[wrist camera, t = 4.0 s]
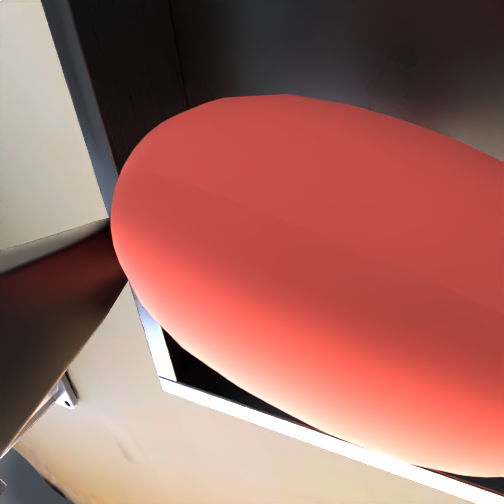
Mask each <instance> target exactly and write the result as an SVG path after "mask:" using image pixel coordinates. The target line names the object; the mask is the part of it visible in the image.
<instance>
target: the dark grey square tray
mask: <svg viewBox="0 0 504 504" xmlns="http://www.w3.org/2000/svg"><path fill="white" fill-rule="evenodd" d="M41 3H42V6H43V9H44V13H45V16H46V19H47V22H48V25H49V28H50V32H51V35H52V38H53V41H54V44H55V48H56V51H57V54H58V57H59V60H60V64H61V67H62V70H63V73H64V76H65V79H66V83H67V86H68V89H69V92H70V95H71V99H72V102H73V105H74V108H75V111H76V115H77V118H78V121H79V124H80V127H81V130H82V134H83V137H84V140H85V143H86V146H87V150H88V153H89V156H90V159H91V162H92V166H93V169H94V172H95V175H96V178H97V181H98V185H99V188H100V191H101V194H102V197H103V201H104V204H105V207H106V210H107V213H108V217H109V218H111V205H112V200H113V195H114V190H115V186H116V183H117V180H118V178H119V175H120V173H121V170H122V168H123V166H124V164H125V162H126V161H127V159H128V158H129V156H130V154H131V153H132V151H133V149H134V148H135V147H136V146H137V145H138V144H139V143H140V141H141V140H142V139H143V138H144V137H145V136H146V135H147V134H148V133H149V132H150V131H152V130H153V129H154V128H155V127H157V126H158V125H159V124H161V123H162V122H164V121H166V120H168V119H170V118H172V117H174V116H176V115H178V114H180V113H182V112H185V111H187V110H190V109H192V108H195V107H197V106H200V105H202V104H205V103H208V102H211V101H214V100H217V99H221V98H226V97H242V96H260V95H278V94H290V95H296V96H302V97H307V98H313V99H319V100H325V101H330V102H336V103H342V104H348V105H352V106H356V107H360V108H364V109H367V110H371V111H374V112H378V113H381V114H385V115H388V116H391V117H394V118H397V119H400V120H404V121H407V122H410V123H413V124H415V125H418V126H421V127H424V128H427V129H430V130H433V131H435V132H438V133H441V134H443V135H446V136H449V137H451V138H454V139H456V140H459V141H461V142H464V143H466V144H468V145H470V146H472V147H474V148H476V149H478V150H480V151H482V152H484V153H486V154H488V155H490V156H492V157H494V158H496V159H498V160H500V161H502V162H504V0H41ZM129 284H130V287H131V290H132V293H133V296H134V299H135V303H136V306H137V309H138V312H139V315H140V319H141V322H142V325H143V328H144V331H145V335H146V338H147V341H148V344H149V347H150V350H151V354H152V357H153V360H154V363H155V366H156V370H157V373H158V375H159V378H160V381H161V385H162V388H163V390H164V391H166V392H169V393H172V394H175V395H178V396H180V397H183V398H186V399H189V400H191V401H194V402H197V403H200V404H203V405H205V406H208V407H211V408H214V409H216V410H219V411H222V412H225V413H228V414H230V415H233V416H236V417H239V418H241V419H244V420H247V421H250V422H253V423H255V424H258V425H261V426H264V427H266V428H269V429H272V430H275V431H277V432H280V433H283V434H286V435H289V436H291V437H294V438H297V439H300V440H302V441H305V442H308V443H311V444H314V445H316V446H319V447H322V448H325V449H327V450H330V451H333V452H336V453H339V454H341V455H344V456H347V457H350V458H352V459H355V460H358V461H361V462H364V463H366V464H369V465H372V466H375V467H377V468H380V469H383V470H386V471H389V472H391V473H394V474H397V475H400V476H402V477H405V478H408V479H411V480H413V481H416V482H419V483H422V484H425V485H427V486H430V487H433V488H436V489H438V490H441V491H444V492H447V493H450V494H452V495H455V496H458V497H461V498H463V499H466V500H469V501H472V502H475V503H477V504H504V477H477V476H465V475H459V474H455V473H450V472H445V471H441V470H436V469H431V468H427V467H422V466H417V465H413V464H408V463H403V462H400V461H397V460H395V459H392V458H389V457H386V456H384V455H381V454H379V453H376V452H373V451H371V450H368V449H366V448H363V447H361V446H358V445H356V444H353V443H351V442H348V441H345V440H343V439H340V438H338V437H335V436H333V435H330V434H328V433H326V432H324V431H322V430H320V429H318V428H316V427H314V426H312V425H310V424H308V423H306V422H304V421H302V420H300V419H298V418H296V417H294V416H292V415H290V414H288V413H286V412H284V411H282V410H280V409H279V408H277V407H275V406H273V405H271V404H269V403H267V402H266V401H264V400H262V399H260V398H258V397H256V396H255V395H253V394H251V393H249V392H248V391H246V390H244V389H242V388H241V387H239V386H237V385H236V384H234V383H233V382H231V381H230V380H228V379H227V378H226V377H224V376H223V375H221V374H220V373H218V372H217V371H215V370H214V369H213V368H211V367H210V366H208V365H207V364H205V363H204V362H202V361H201V360H200V359H198V358H197V357H195V356H194V355H192V354H191V353H190V352H188V351H187V350H185V349H184V348H183V347H181V345H180V344H179V343H178V342H177V341H176V340H175V339H174V338H173V337H172V336H171V335H170V334H169V333H168V332H167V331H166V330H165V329H164V328H163V327H162V326H161V325H160V324H159V323H158V322H157V321H156V320H155V319H154V318H153V317H152V316H151V314H150V313H149V312H148V311H147V310H146V308H145V307H144V306H143V305H142V304H141V302H140V301H139V299H138V297H137V295H136V293H135V291H134V289H133V287H132V285H131V283H130V281H129Z"/></svg>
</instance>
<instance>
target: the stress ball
mask: <svg viewBox="0 0 504 504" xmlns="http://www.w3.org/2000/svg"><path fill="white" fill-rule="evenodd" d="M111 232H112V239H113V245H114V248H115V251H116V254H117V257H118V260H119V263H120V265H121V266H122V268H123V270H124V272H125V274H126V276H127V278H128V280H129V281H130V283H131V285H132V287H133V289H134V291H135V293H136V295H137V297H138V299H139V301H140V302H141V304H142V305H143V306H144V307H145V308H146V310H147V311H148V312H149V313H150V314H151V316H152V317H153V318H154V319H155V320H156V321H157V322H158V323H159V324H160V325H161V326H162V327H163V328H164V329H165V330H166V331H167V332H168V333H169V334H170V335H171V336H172V337H173V338H174V339H175V340H176V341H177V342H178V343H179V344H180V345H181V347H183V348H184V349H185V350H187V351H188V352H190V353H191V354H192V355H194V356H195V357H197V358H198V359H200V360H201V361H202V362H204V363H205V364H207V365H208V366H210V367H211V368H213V369H214V370H215V371H217V372H218V373H220V374H221V375H223V376H224V377H226V378H227V379H228V380H230V381H231V382H233V383H234V384H236V385H237V386H239V387H241V388H242V389H244V390H246V391H248V392H249V393H251V394H253V395H255V396H256V397H258V398H260V399H262V400H264V401H266V402H267V403H269V404H271V405H273V406H275V407H277V408H279V409H280V410H282V411H284V412H286V413H288V414H290V415H292V416H294V417H296V418H298V419H300V420H302V421H304V422H306V423H308V424H310V425H312V426H314V427H316V428H318V429H320V430H322V431H324V432H326V433H328V434H330V435H333V436H335V437H338V438H340V439H343V440H345V441H348V442H351V443H353V444H356V445H358V446H361V447H363V448H366V449H368V450H371V451H373V452H376V453H379V454H381V455H384V456H386V457H389V458H392V459H395V460H397V461H400V462H403V463H408V464H413V465H417V466H422V467H427V468H431V469H436V470H441V471H445V472H450V473H455V474H459V475H465V476H477V477H504V162H502V161H500V160H498V159H496V158H494V157H492V156H490V155H488V154H486V153H484V152H482V151H480V150H478V149H476V148H474V147H472V146H470V145H468V144H466V143H464V142H461V141H459V140H456V139H454V138H451V137H449V136H446V135H443V134H441V133H438V132H435V131H433V130H430V129H427V128H424V127H421V126H418V125H415V124H413V123H410V122H407V121H404V120H400V119H397V118H394V117H391V116H388V115H385V114H381V113H378V112H374V111H371V110H367V109H364V108H360V107H356V106H352V105H348V104H342V103H336V102H330V101H325V100H319V99H313V98H307V97H302V96H296V95H290V94H278V95H260V96H242V97H226V98H221V99H217V100H214V101H211V102H208V103H205V104H202V105H200V106H197V107H195V108H192V109H190V110H187V111H185V112H182V113H180V114H178V115H176V116H174V117H172V118H170V119H168V120H166V121H164V122H162V123H161V124H159V125H158V126H157V127H155V128H154V129H153V130H152V131H150V132H149V133H148V134H147V135H146V136H145V137H144V138H143V139H142V140H141V141H140V143H139V144H138V145H137V146H136V147H135V148H134V149H133V151H132V153H131V154H130V156H129V158H128V159H127V161H126V162H125V164H124V166H123V168H122V170H121V173H120V175H119V178H118V180H117V183H116V186H115V190H114V195H113V200H112V205H111Z"/></svg>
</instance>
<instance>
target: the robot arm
mask: <svg viewBox="0 0 504 504" xmlns="http://www.w3.org/2000/svg"><path fill="white" fill-rule="evenodd" d="M127 282H128V278H127V276H126V274H125V272H124V270H123V268H122V266H121V265H120V263H119V260H118V257H117V254H116V251H115V248H114V245H113V239H112V232H111V218H106V219H103V220H99V221H96V222H93V223H90V224H87V225H83V226H80V227H77V228H74V229H70V230H67V231H64V232H61V233H57V234H54V235H51V236H48V237H45V238H41V239H38V240H35V241H32V242H28V243H25V244H22V245H19V246H15V247H12V248H9V249H6V250H3V251H0V459H1V458H2V457H3V456H4V455H5V454H6V453H7V451H9V449H10V448H11V447H12V446H13V445H14V444H15V443H16V442H17V441H18V440H19V439H20V438H21V437H22V436H23V435H24V434H25V433H26V432H27V431H28V430H29V429H30V428H31V427H32V426H33V425H34V424H35V423H36V421H37V420H38V419H39V418H40V417H41V416H42V415H43V414H44V413H45V412H46V411H47V410H48V409H49V408H50V407H51V406H52V405H53V404H54V403H58V404H60V405H62V406H65V407H67V408H69V409H74V408H75V407H76V406H77V405H78V401H77V399H76V396H75V394H74V392H73V390H72V388H71V386H70V384H69V382H68V379H67V377H66V375H65V372H66V370H67V369H68V368H69V366H70V365H71V364H72V362H73V361H74V360H75V358H76V357H77V356H78V354H79V353H80V352H81V350H82V349H83V348H84V346H85V345H86V344H87V342H88V341H89V340H90V338H91V337H92V336H93V334H94V333H95V332H96V330H97V329H98V328H99V326H100V325H101V323H102V322H103V320H104V319H105V317H106V316H107V314H108V313H109V311H110V309H111V308H112V306H113V304H114V303H115V301H116V299H117V298H118V296H119V295H120V293H121V291H122V290H123V288H124V286H125V285H126V283H127ZM6 487H7V485H6V484H5V483H4V482H3V481H2V480H1V479H0V495H1V493H2V492H3V491H4V489H5V488H6Z"/></svg>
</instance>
